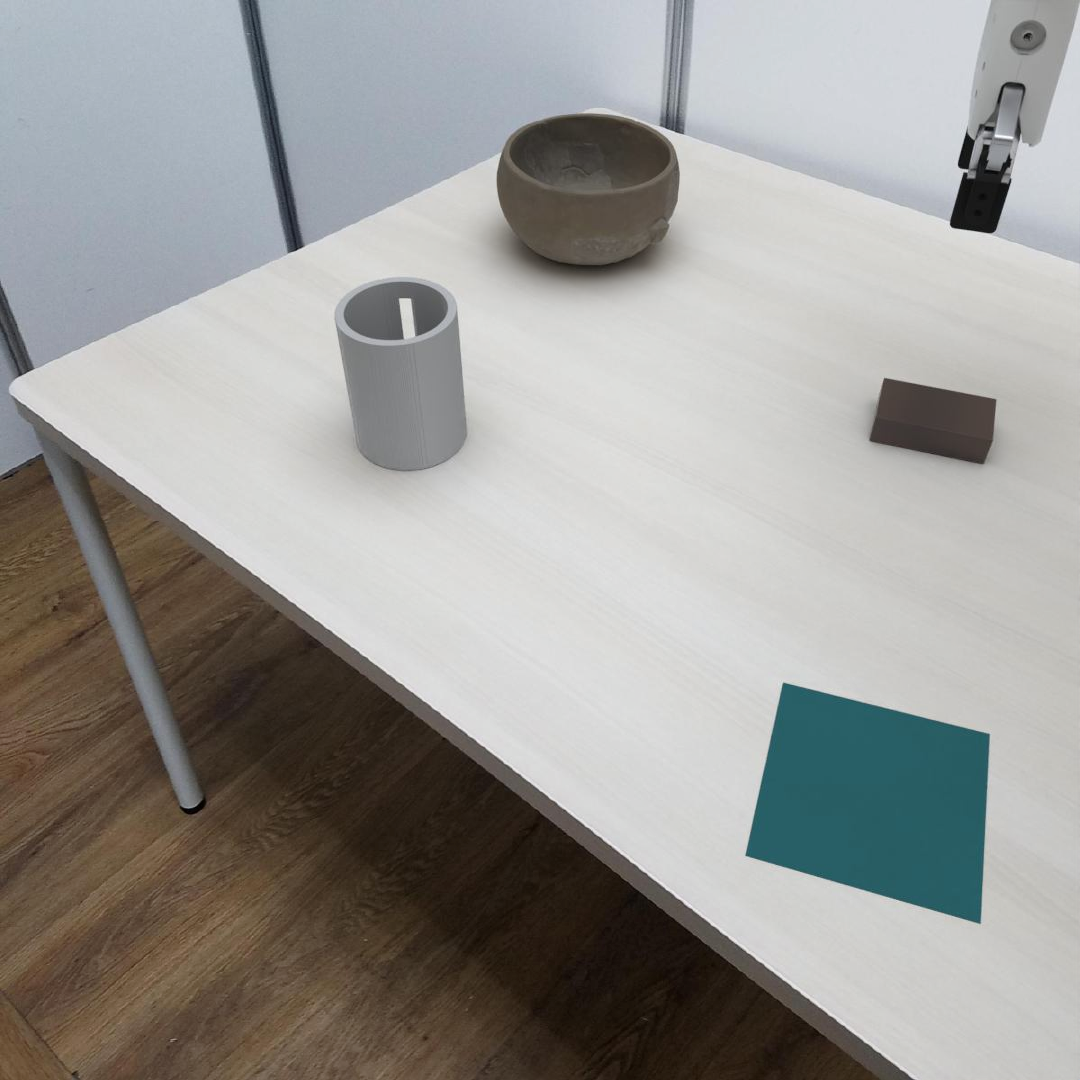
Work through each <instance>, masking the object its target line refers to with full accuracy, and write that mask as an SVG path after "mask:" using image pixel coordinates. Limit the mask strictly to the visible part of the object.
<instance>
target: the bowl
mask: <svg viewBox="0 0 1080 1080" xmlns="http://www.w3.org/2000/svg"><path fill="white" fill-rule="evenodd" d="M680 179H681V171H680V165H679V159H678V155H677V151H676V149H675V146H674V144H673V143H672V141H670V139H669V138H668V137H666V136H665V135H664V134H663V133H662V132H660V131H659V130H658V129H655V128H653V127H651V126H650V125H647V124H645V123H643V122H640V121H637V120H634V119H632V118H628V117H624V116H621V115H614V114H607V113H591V112H590V113H589V112H585V113H584V112H583V113H570V114H561V115H553V116H551V117H547V118H543V119H541V120H535V121H533V122H529V123H527V124H525V125H523V126H521V127H520V128H518V129H516V130H515V131H514V132H513V133H511V134H510V135H509V137H508V139H507V140H506V142H505V144H504V146H503V148H502V151H501V154H500V157H499V160H498V166H497V170H496V191H497V199H498V202H499V205H500V208H501V211H502V214H503V216H504V218H505V220H506V222H507V223H508V225H509V227H510V228H511V229H512V231H513V233H515V235H516V236H517V237H518V238H519V240H521V241H522V242H523V244H525V245H526V246H527V247H528V248H529V249H531V250H532V251H533V252H535V253H536V254H537V255H540V256H542V257H544V258H545V259H548V260H551V261H553V262H557V263H561V264H569V265H577V266H604V265H609V264H613V263H618V262H621V261H623V260H625V259H630V258H632V257H634V256H635V255H637V254H638V253H640V252H642V251H643V250H644V249H645V248H647V247H649V245H650V244H652V245H655V244H659V243H661V242H662V240H663V239H664V238H665V237H666V235H667V233H668V231H669V228H670V223H669V221H670V220H671V218H672V216H673V215H674V212H675V209H676V207H677V204H678V202H679V200H678V199H679V190H680V182H681V181H680Z"/></svg>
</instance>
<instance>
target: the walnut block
mask: <svg viewBox="0 0 1080 1080" xmlns="http://www.w3.org/2000/svg"><path fill="white" fill-rule="evenodd" d="M997 401H998V400H997V399H996V398H993V397H987V396H983V395H977V394H971V393H966V392H960V391H957V390H952V389H945V388H941V387H934V386H929V385H924V384H920V383H914V382H909V381H905V380H899V379H893V378H889V377H888V378H887V377H884V378H882V383H881V387H880V391H879V394H878V398H877V402H876V407H875V411H874V416H873V421H872V425H871V430H870V434H869V439H868V440H869V441H870V442H876V443H879V444H884V445H888V446H889V445H890V446H894V447H898V448H899V447H900V448H904V449H909V450H914V451H919V452H924V453H929V454H934V455H939V456H944V457H948V458H951V459H952V458H953V459H957V460H963V461H967V462H973V463H977V464H982V465H984V464H985V462H986V460H987V457H988V454H989V452H990V449H991V447H992V444H993V441H994V433H995V422H996V421H995V420H996V410H997Z"/></svg>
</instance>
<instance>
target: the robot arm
mask: <svg viewBox="0 0 1080 1080" xmlns="http://www.w3.org/2000/svg"><path fill="white" fill-rule="evenodd" d="M1079 7H1080V0H990V3H989V8H988V11H987V15H986V19H985V23H984V27H983V30H982V31H983V32H982V35H981V40H980V44H979V48H978V53H977V57H976V64H975V68H974V73H973V79H972V86H971V91H970V99H969V110H968V121H967V126H966V127H967V128H966V129H965V130H966V131H965V134H964V138H963V142H962V145H961V149H960V153H959V155H958V160H957V168H959V169H960V170H967V172H966V171H963V172H962V176H961V180H960V184H959V186H958V191H957V194H956V198H955V201H954V205H953V207H952V208H953V209H952V212H951V215H950V219H949V227H950V228H952V229H954V230H963V231H970V232H976V233H982V234H983V233H984V234H993V233H995V232H996V231H997V228H998V226H999V222H1000V219H1001V216H1002V213H1003V210H1004V206H1005V204H1006V200H1007V197H1008V194H1009V190H1010V187H1011V184H1012V178H1011V177H1012V173H1013V169H1014V164H1015V161H1016V155H1017V151H1018V148H1019V145H1020V144H1019V143H1020V141H1022V144H1028V147H1029V148H1034V147H1036V146H1037V145H1039V144H1040V143H1041V141H1042V139H1043V135H1044V131H1045V127H1046V125H1047V120H1048V117H1049V113H1050V110H1051V107H1052V103H1053V101H1054V96H1055V93H1056V90H1057V87H1058V83H1059V80H1060V76H1061V73H1062V70H1063V66H1064V62H1065V59H1066V56H1067V53H1068V49H1069V45H1070V42H1071V38H1072V35H1073V33H1074V32H1073V31H1074V28H1075V24H1076V20H1077V15H1078V12H1079Z"/></svg>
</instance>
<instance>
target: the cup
mask: <svg viewBox="0 0 1080 1080" xmlns="http://www.w3.org/2000/svg"><path fill="white" fill-rule="evenodd" d="M401 299H410V302H411V310H412V320H413V328H414V336H413V337H408V338H405V335H404V328H403V319H402V311H401V304H400V300H401ZM333 315H334V324H335V327H336V328H335V329H336V334H337V339H338V346H339V351H340V356H341V357H340V358H341V363H342V368H343V374H344V381H345V385H346V391H347V397H348V402H349V407H350V414H351V419H352V425H353V430H354V435H355V442H356V445H357V448H358V450H359V451H360V453H361V455H363V457H364V458H366V459H367V460H368V461H369V462H371V463H373V464H375V465H376V466H379V467H382V468H386V469H388V470H395V471H418V470H425V469H427V468H428V469H429V468H432V467H435V466H438V465H440V464H442V463H443V462H446V461H448V460H449V459H451V458H452V457H453V456H455V455H456V454H457V453H458V452H459V451H460V450H461V449H462V447H463V446H464V444H465V441H466V439H467V436H468V426H467V425H468V424H467V412H466V402H465V400H466V399H465V389H464V378H463V377H464V376H463V375H464V374H463V363H462V352H461V351H462V350H461V339H460V338H461V337H460V326H459V313H458V303H457V301H456V298H455V296H454V295H453V294H452V293H451V291H450V290H448V289H447V288H446V287H444V286H442V285H441V284H440V283H437V282H435V281H432V280H429V279H424V278H421V277H412V276H393V277H385V278H381V279H376V280H371V281H369V282H366V283H363V284H361V285H359V286H357V287H355V288H353V289H352V290H350V291H348V292H347V293H346V294H345V295H343V297H342V298H340V300H339V302H338V303H337V305H336V307H335V309H334V314H333Z"/></svg>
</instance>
